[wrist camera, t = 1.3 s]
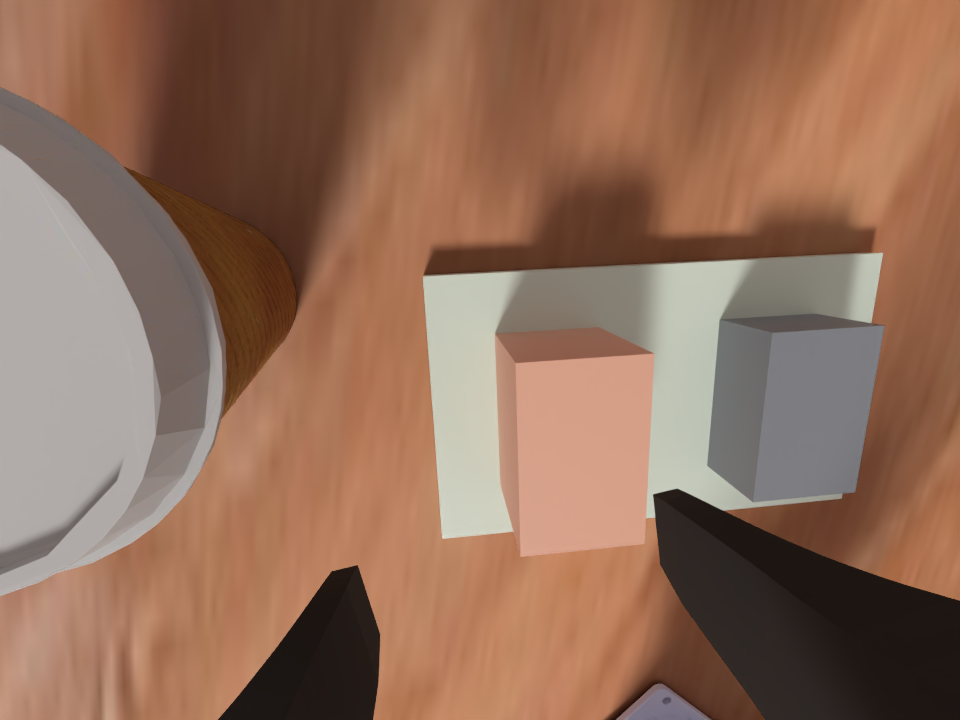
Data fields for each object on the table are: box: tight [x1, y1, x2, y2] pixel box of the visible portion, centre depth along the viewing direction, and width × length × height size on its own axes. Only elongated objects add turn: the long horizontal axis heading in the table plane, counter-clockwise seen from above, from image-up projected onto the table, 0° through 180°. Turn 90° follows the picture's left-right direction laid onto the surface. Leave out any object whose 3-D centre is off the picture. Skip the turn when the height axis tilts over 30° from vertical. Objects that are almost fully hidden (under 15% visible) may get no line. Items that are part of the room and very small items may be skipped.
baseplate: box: [423, 253, 883, 539], centre depth 21 cm, size 20×12×1 cm, turn 92°
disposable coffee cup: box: [0, 87, 297, 596], centre depth 13 cm, size 10×10×12 cm
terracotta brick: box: [495, 327, 654, 557], centre depth 18 cm, size 4×7×5 cm, turn 2°
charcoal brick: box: [707, 314, 884, 502], centre depth 19 cm, size 4×7×3 cm, turn 2°
